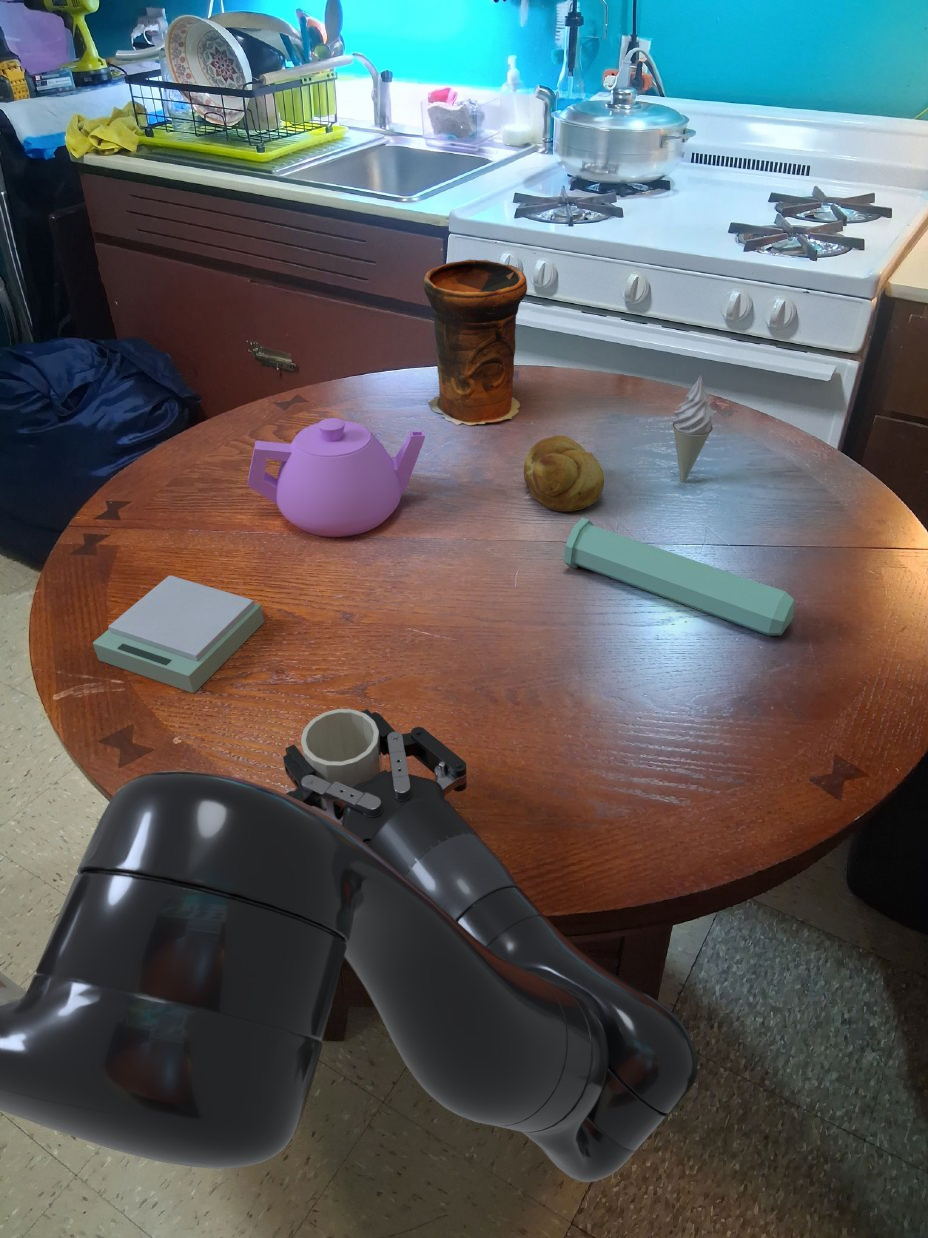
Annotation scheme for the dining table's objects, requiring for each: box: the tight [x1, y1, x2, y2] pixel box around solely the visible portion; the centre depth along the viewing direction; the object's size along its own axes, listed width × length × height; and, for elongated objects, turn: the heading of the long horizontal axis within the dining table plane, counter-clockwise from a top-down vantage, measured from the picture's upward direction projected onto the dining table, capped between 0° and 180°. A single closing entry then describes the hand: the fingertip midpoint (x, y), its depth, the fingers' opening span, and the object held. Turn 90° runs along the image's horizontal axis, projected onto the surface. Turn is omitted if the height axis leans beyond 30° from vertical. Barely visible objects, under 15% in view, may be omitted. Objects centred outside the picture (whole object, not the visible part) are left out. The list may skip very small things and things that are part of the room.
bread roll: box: [523, 435, 605, 513], centre depth 111 cm, size 13×10×8 cm
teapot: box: [246, 417, 426, 538], centre depth 107 cm, size 22×16×12 cm
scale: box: [92, 574, 265, 694], centre depth 90 cm, size 12×12×3 cm
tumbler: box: [300, 708, 384, 806], centre depth 71 cm, size 6×6×9 cm
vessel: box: [423, 258, 528, 426], centre depth 127 cm, size 14×14×20 cm
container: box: [563, 517, 796, 637], centre depth 95 cm, size 6×6×25 cm
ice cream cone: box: [671, 374, 715, 484], centre depth 111 cm, size 5×5×15 cm
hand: (327, 735), depth 71 cm, fingers closed on tumbler, 6 cm apart
